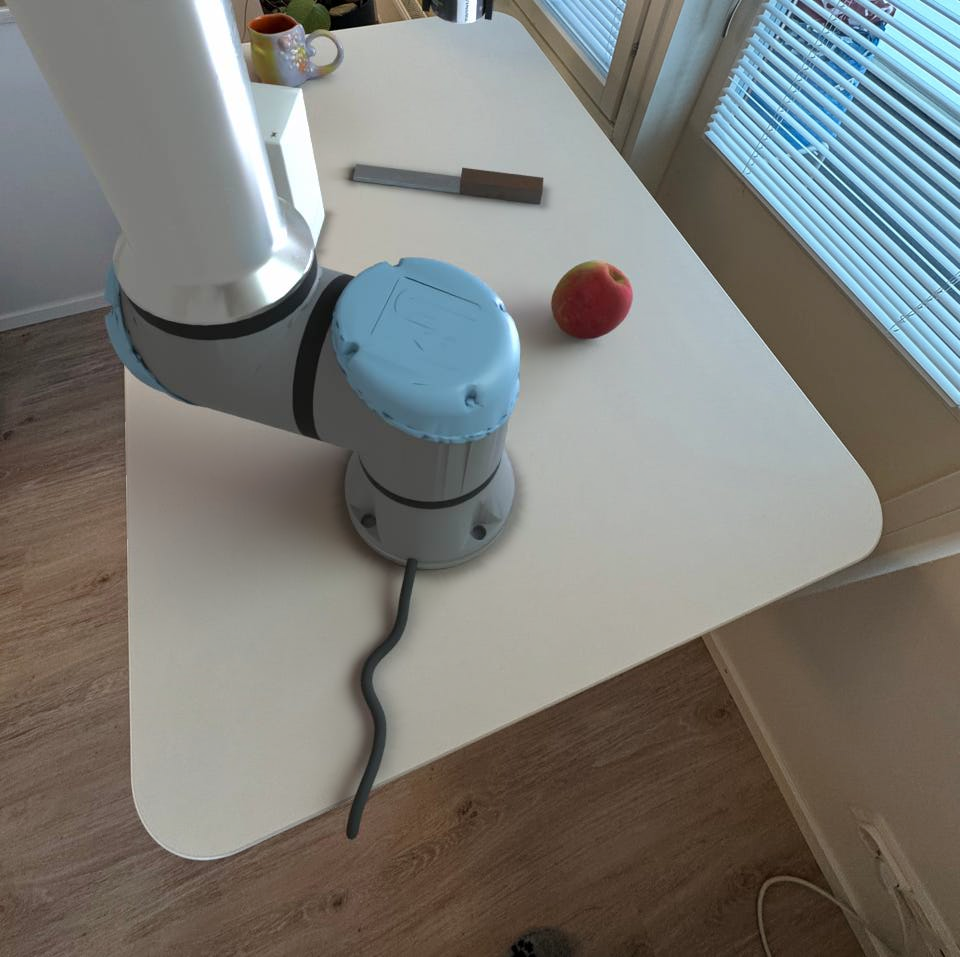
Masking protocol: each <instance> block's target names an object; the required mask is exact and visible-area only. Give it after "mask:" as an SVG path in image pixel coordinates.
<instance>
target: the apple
mask: <svg viewBox="0 0 960 957" xmlns="http://www.w3.org/2000/svg"><path fill="white" fill-rule="evenodd" d="M633 292H634V290H633V287H632V284H631V282H630V280H629V278H628V277H627V276H626V275H625V274H624V272H622V271H621V270H620V269H618V268H617V267H616V266H614V265H612V264H610V263H608V262H604V261H600V260H589V261H585V262H582V263H579V264H577V265H575V266H574V267H572V268H571V269H569V270H568V271H567V272H566V273H565V274H564V275H563V276H562V277H561V278H560V279H559V281H558V283H557V284H556V286H555V288H554V290H553V293H552V295H551V300H550V308H551V312H552V316H553V319H554V321H555V323H556V325H557V326H558V328H559V329H560V330H561V331H562V332H563V333H565V334H566V335H568V336H570V337H572V338H575V339H578V340H592V339H598V338H600V337H603V336H605V335H608V334H610V333H611V332H612V331H613V330H615V329H616V328H618V327H619V326H620V325H621V324H622V323H623V322H624V320H625V319H626V318H627V316H628V314H629V312H630V310H631V307H632V303H633V300H634V298H633V297H634V293H633Z"/></svg>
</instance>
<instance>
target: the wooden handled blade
mask: <svg viewBox="0 0 960 957" xmlns="http://www.w3.org/2000/svg"><path fill="white" fill-rule="evenodd" d="M460 173H461V174H460V176H458V175H451V174H449V175H448V174H443V173H433V172H424V171H418V170H409V169H400V168H392V167H386V166H378V165H377V166H376V165H368V164H359V163H357V164H355V168H354V172H353V175H352V178H353V181H354V182H362V183H371V184H379V185H386V186H394V187H396V186H397V187H402V188H411V189H419V190H428V191H436V192H442V193H443V192H444V193H450V194H451V193H453V194H459V195H461V196H462V195H463V196H470V197H471V196H472V197H479V198H489V199H495V200H496V199H497V200H504V201H512V202H513V201H514V202H520V203H529V204H537V205H541V203H542V198H543V193H544V192H543V191H544V177H543V176H533V175H525V174H517V173H509V172H501V171H493V170H485V169H476V168H469V167H462V168H461V172H460Z"/></svg>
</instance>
